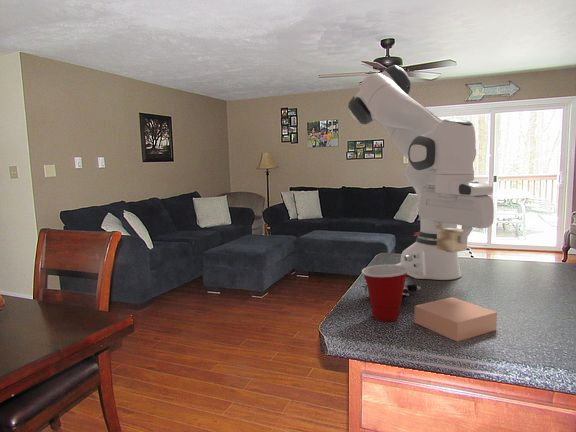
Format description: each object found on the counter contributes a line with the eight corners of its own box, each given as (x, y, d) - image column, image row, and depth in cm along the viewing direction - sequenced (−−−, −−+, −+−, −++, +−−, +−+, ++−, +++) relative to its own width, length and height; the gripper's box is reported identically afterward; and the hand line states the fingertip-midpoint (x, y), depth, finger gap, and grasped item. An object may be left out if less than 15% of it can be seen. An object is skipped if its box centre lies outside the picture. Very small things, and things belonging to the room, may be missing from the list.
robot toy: (382, 290, 123) (357, 300, 111) (382, 275, 123) (358, 283, 111) (423, 297, 116) (401, 308, 104) (423, 281, 115) (402, 291, 103)
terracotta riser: (414, 322, 95) (414, 305, 94) (451, 313, 100) (452, 297, 100) (457, 341, 84) (457, 322, 84) (496, 329, 90) (497, 312, 89)
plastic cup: (366, 307, 106) (366, 261, 104) (410, 312, 102) (411, 264, 100) (356, 322, 96) (356, 271, 94) (404, 328, 92) (405, 275, 90)
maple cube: (436, 248, 105) (437, 229, 105) (450, 246, 108) (451, 227, 107) (452, 252, 101) (453, 232, 100) (466, 250, 103) (467, 230, 102)
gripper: (413, 184, 110) (412, 235, 112) (481, 188, 92) (477, 250, 94) (431, 183, 112) (429, 233, 114) (499, 187, 94) (496, 247, 96)
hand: (451, 241), depth 104 cm, fingers closed on maple cube, 5 cm apart
